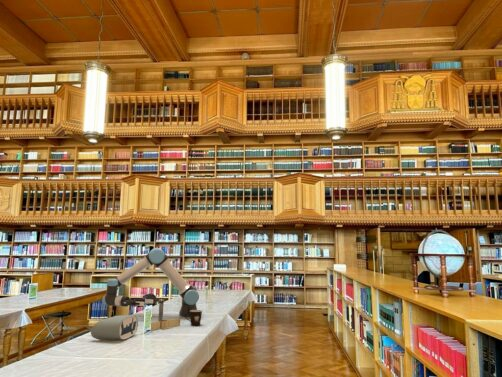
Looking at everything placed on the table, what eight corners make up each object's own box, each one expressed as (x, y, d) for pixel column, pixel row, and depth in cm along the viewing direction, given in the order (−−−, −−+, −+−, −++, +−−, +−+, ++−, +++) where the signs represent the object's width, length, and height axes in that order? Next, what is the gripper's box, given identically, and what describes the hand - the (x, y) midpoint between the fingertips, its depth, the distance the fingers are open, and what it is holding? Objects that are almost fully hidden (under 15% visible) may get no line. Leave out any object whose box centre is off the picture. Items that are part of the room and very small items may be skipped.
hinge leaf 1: (165, 326, 262) (165, 319, 263) (170, 327, 258) (170, 320, 259) (144, 330, 250) (144, 322, 251) (149, 331, 246) (149, 324, 247)
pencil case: (119, 343, 217) (119, 319, 219) (89, 342, 221) (90, 319, 223) (137, 334, 238) (138, 313, 240) (110, 334, 242) (111, 313, 244)
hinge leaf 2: (177, 324, 269) (177, 317, 270) (182, 326, 265) (182, 318, 266) (157, 328, 258) (157, 320, 258) (162, 329, 253) (162, 321, 254)
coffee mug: (202, 324, 272) (203, 309, 274) (200, 326, 264) (200, 311, 266) (187, 323, 274) (187, 309, 275) (183, 326, 265) (184, 311, 267)
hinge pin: (161, 323, 274) (162, 299, 276) (164, 324, 271) (165, 299, 273) (156, 324, 271) (157, 299, 273) (159, 325, 268) (160, 300, 271)
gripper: (131, 304, 291) (156, 305, 286) (112, 308, 267) (139, 310, 262) (131, 294, 292) (156, 295, 288) (113, 297, 268) (140, 299, 264)
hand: (148, 302), depth 275 cm, fingers open, 13 cm apart
